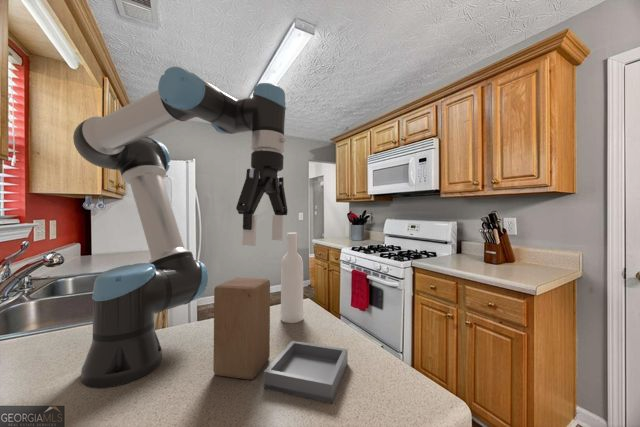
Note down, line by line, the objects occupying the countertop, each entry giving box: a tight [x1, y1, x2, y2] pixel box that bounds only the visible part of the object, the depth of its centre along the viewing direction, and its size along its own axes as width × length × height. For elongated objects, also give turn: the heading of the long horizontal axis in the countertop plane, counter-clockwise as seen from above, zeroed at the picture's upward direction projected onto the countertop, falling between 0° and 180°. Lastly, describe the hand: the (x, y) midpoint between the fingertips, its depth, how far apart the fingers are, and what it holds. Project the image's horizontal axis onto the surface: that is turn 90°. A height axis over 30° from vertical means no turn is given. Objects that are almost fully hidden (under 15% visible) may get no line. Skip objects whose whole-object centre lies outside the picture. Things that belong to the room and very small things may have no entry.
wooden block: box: [212, 276, 271, 380], centre depth 63 cm, size 10×10×20 cm
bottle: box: [280, 232, 304, 324], centre depth 93 cm, size 8×8×30 cm
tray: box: [263, 340, 349, 404], centre depth 59 cm, size 14×14×4 cm
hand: (264, 242), depth 63 cm, fingers open, 13 cm apart
